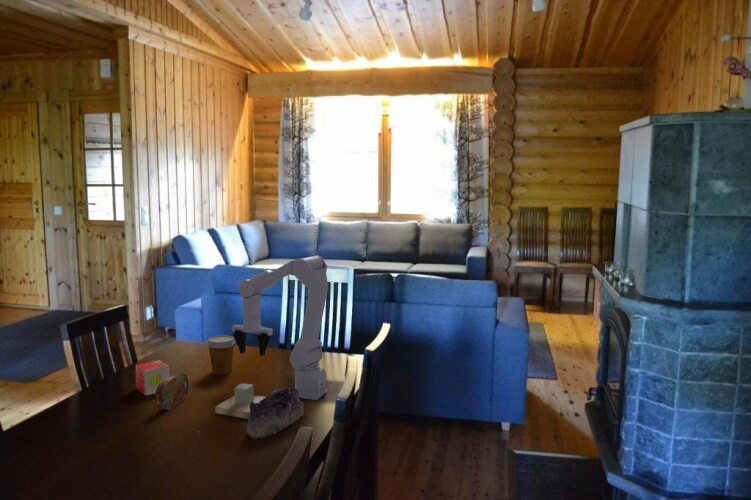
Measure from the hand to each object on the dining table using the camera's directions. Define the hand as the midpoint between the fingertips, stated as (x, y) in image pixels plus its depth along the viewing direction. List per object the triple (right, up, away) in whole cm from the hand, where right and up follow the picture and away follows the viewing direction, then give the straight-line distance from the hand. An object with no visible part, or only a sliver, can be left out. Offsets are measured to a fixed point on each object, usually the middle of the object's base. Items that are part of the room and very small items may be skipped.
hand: (252, 354), depth 197 cm
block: (+2, -11, -22) cm, 25 cm away
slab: (+2, -13, -22) cm, 25 cm away
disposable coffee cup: (-13, -8, +10) cm, 18 cm away
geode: (+13, -14, -33) cm, 38 cm away
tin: (-20, -12, -19) cm, 30 cm away
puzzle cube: (-31, -10, -7) cm, 33 cm away
